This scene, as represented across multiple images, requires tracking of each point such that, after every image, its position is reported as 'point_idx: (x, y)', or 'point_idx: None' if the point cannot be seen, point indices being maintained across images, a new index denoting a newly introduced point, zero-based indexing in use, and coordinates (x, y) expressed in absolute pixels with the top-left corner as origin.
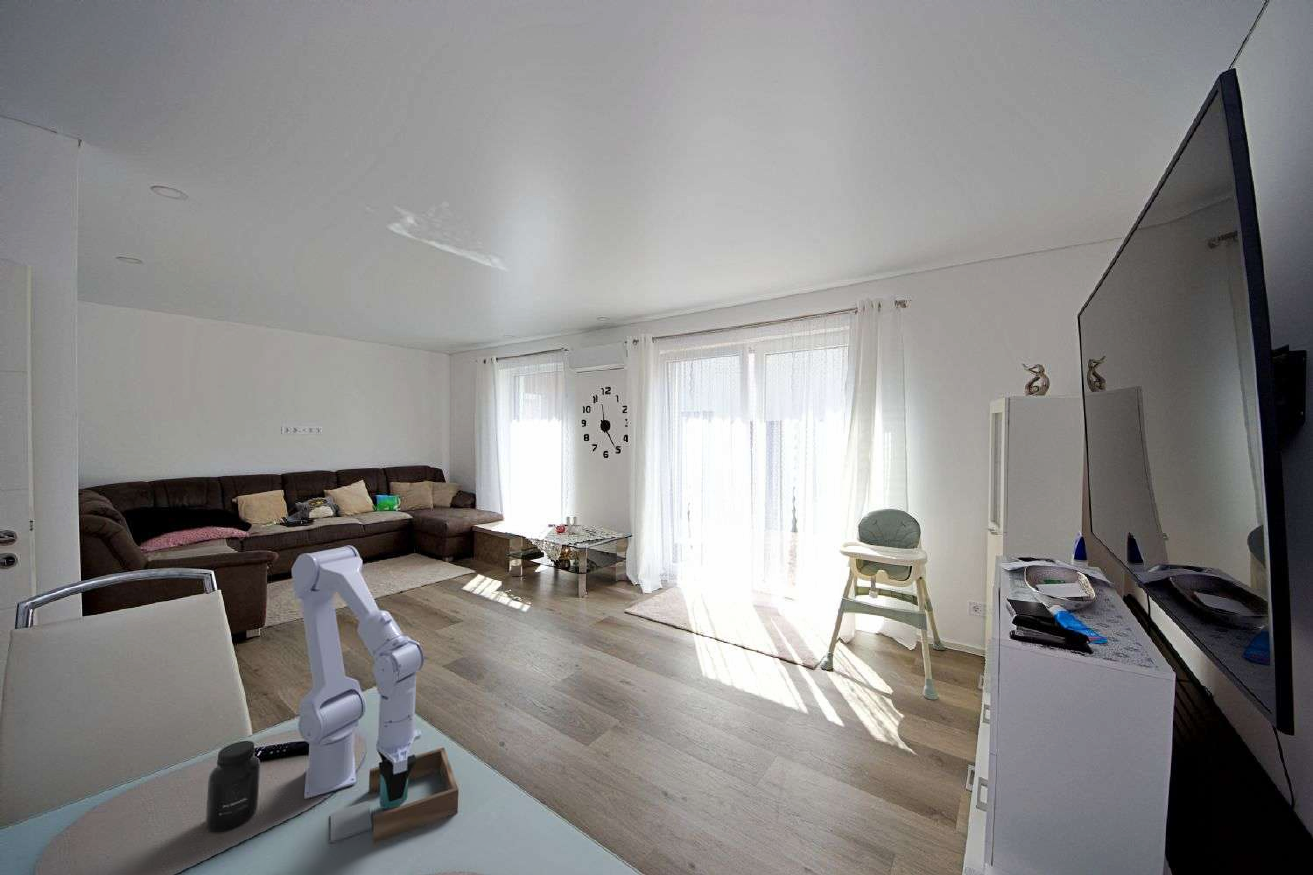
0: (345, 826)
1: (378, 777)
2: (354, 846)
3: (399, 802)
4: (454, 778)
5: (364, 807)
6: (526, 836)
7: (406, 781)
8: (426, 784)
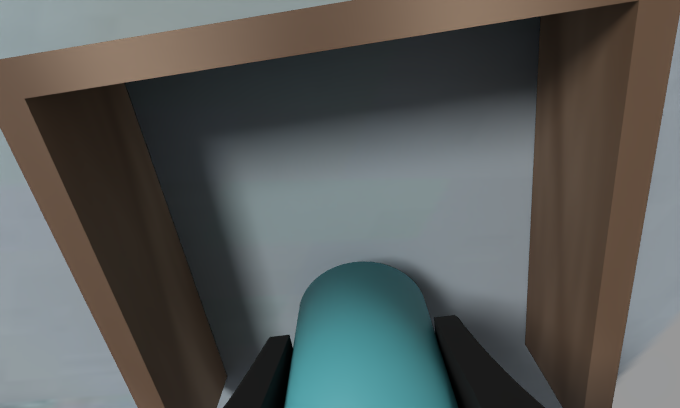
0: None
1: (198, 400)
2: None
3: (424, 300)
4: None
5: None
6: None
7: (514, 380)
8: (236, 154)
